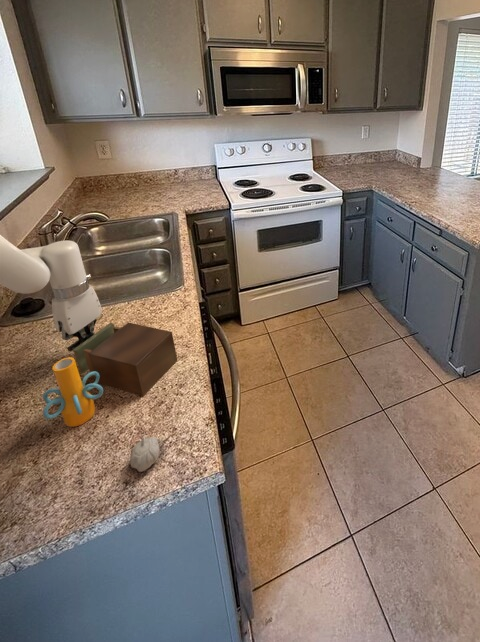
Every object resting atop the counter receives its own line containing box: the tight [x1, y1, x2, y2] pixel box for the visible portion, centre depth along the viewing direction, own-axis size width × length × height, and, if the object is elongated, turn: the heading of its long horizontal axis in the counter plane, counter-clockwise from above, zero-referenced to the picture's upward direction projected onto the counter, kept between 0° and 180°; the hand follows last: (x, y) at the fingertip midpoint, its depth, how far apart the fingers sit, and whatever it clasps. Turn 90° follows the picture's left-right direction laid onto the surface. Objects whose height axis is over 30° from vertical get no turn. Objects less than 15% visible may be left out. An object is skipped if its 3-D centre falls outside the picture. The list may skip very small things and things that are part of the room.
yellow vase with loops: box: [42, 356, 104, 428], centre depth 80 cm, size 12×10×15 cm
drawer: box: [66, 322, 122, 374], centre depth 96 cm, size 19×11×8 cm, turn 73°
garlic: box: [129, 435, 160, 472], centre depth 71 cm, size 6×5×5 cm
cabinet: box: [88, 322, 178, 397], centre depth 93 cm, size 15×13×10 cm
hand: (88, 345), depth 98 cm, fingers closed
